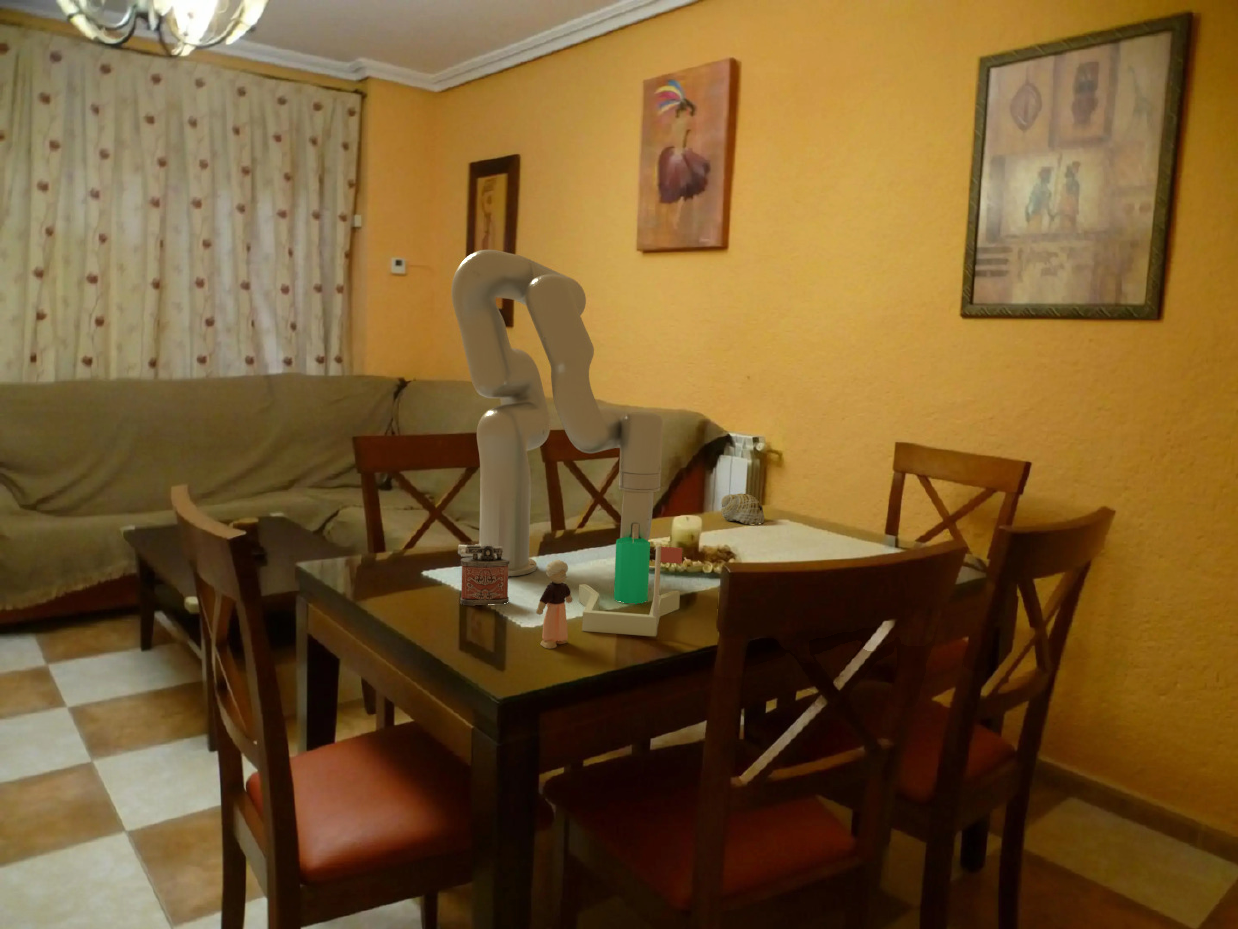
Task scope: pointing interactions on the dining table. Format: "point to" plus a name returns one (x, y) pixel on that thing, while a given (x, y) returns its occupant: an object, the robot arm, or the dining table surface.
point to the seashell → (742, 509)
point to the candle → (631, 570)
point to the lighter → (484, 576)
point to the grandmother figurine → (555, 605)
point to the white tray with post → (630, 621)
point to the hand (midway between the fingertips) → (635, 580)
